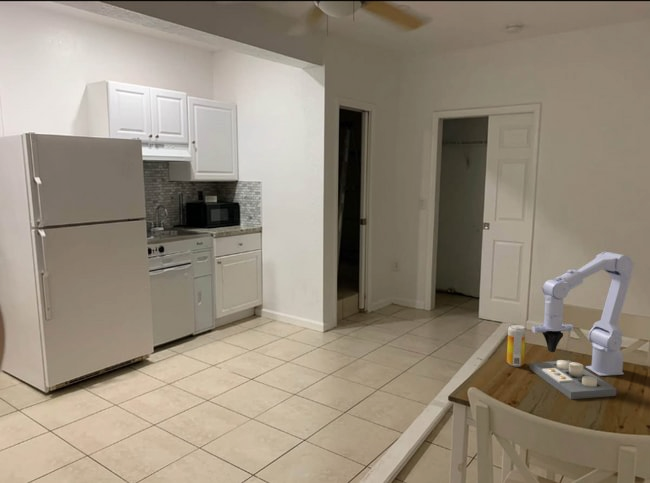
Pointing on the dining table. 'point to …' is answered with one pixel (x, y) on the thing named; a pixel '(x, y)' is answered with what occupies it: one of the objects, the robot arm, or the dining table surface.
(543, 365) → the board
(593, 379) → the button
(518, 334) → the beer can
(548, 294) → the robot arm
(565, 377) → the tile
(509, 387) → the dining table surface
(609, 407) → the dining table surface
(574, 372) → the button
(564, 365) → the button
